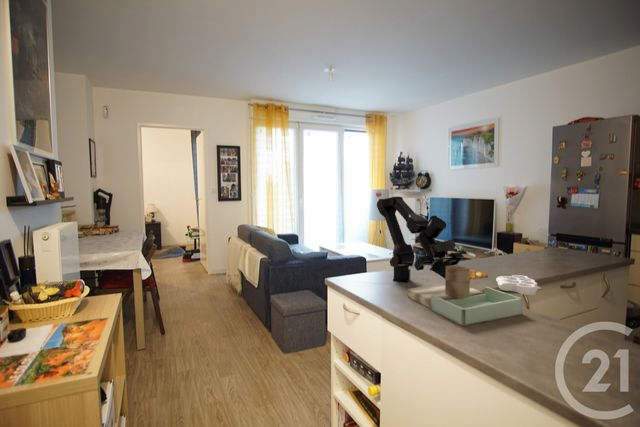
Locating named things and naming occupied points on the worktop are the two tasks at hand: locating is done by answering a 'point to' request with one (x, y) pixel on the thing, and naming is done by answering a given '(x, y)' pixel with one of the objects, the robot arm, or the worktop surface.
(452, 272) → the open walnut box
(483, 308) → the box
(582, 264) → the worktop surface
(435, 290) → the bench plate
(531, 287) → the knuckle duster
